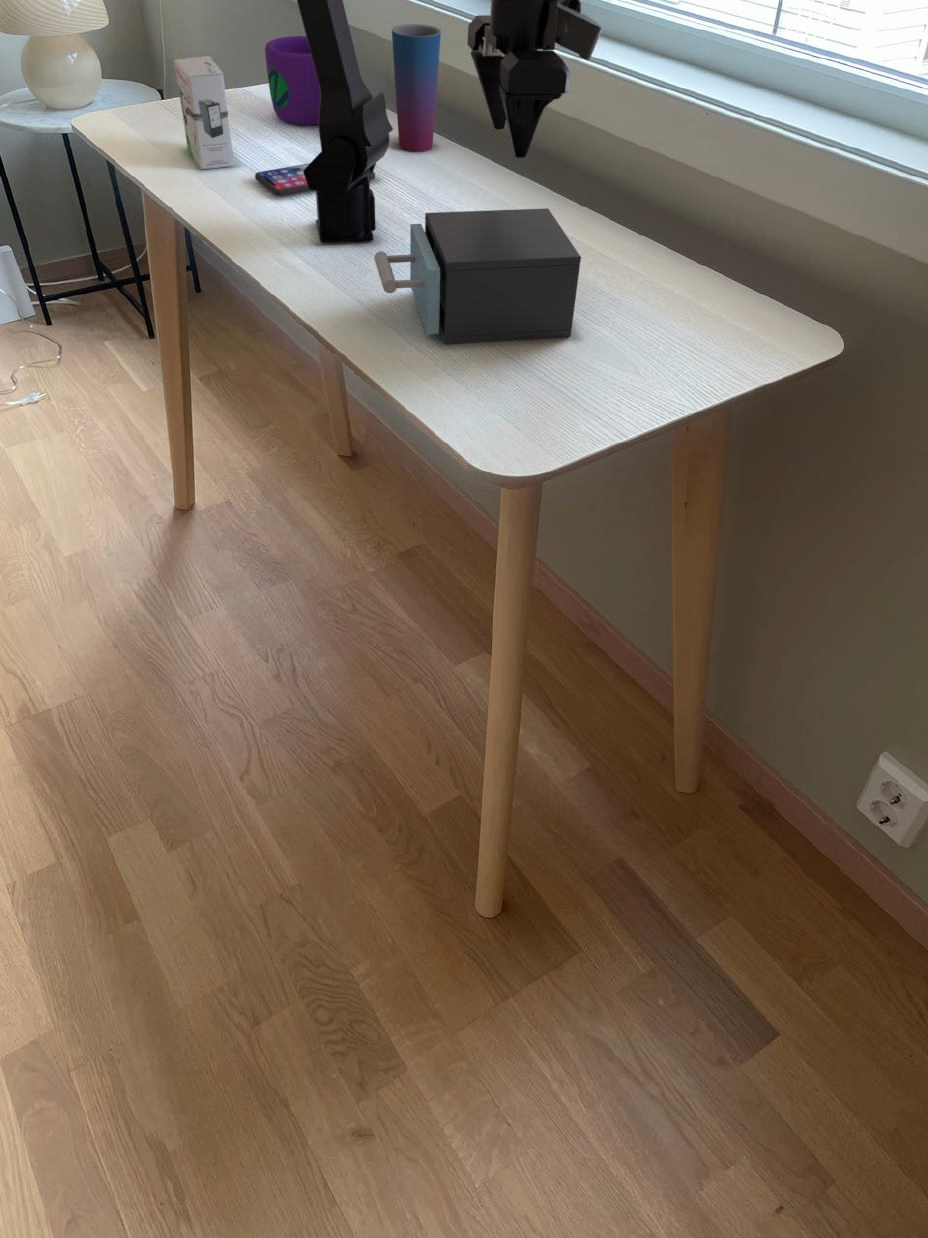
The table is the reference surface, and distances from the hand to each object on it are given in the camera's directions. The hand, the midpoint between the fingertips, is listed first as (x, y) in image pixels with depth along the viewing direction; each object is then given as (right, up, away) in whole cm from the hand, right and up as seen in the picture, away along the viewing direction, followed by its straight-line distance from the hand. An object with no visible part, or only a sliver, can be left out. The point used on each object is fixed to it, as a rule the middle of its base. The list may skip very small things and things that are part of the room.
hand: (509, 142), depth 101 cm
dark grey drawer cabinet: (-2, -19, 0) cm, 19 cm away
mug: (-28, +26, +44) cm, 58 cm away
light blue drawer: (-6, -18, -1) cm, 19 cm away
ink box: (-41, +13, +30) cm, 53 cm away
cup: (-12, +19, +37) cm, 44 cm away
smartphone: (-25, +8, +26) cm, 37 cm away
